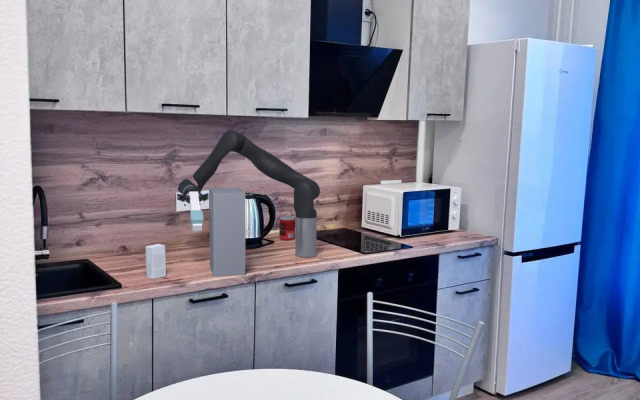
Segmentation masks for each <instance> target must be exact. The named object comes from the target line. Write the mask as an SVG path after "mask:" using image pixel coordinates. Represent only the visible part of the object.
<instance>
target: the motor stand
mask: <svg viewBox="0 0 640 400" xmlns="http://www.w3.org/2000/svg"><path fill="white" fill-rule="evenodd" d="M209 269H210V271H211V273H213V274H212V277H214V276H215V277H230V276H231V277H232V276H245V275H246V192H245V191H244V190H243V189H242V188H241V187H220V188H219V187H217V188H216V187H215V188H213V187H212V188H209Z"/></svg>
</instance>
